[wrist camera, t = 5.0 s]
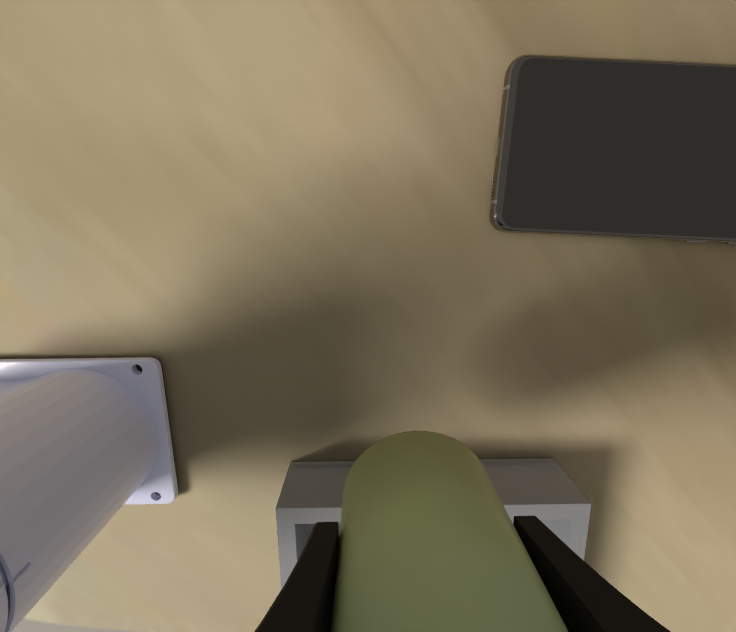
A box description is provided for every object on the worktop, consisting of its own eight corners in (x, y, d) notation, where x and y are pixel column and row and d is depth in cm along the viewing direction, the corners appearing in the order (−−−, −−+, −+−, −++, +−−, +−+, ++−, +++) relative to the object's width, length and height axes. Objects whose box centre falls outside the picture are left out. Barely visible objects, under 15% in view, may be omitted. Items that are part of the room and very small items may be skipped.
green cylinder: (346, 564, 13) (327, 903, 7) (338, 433, 12) (307, 675, 6) (488, 558, 14) (616, 891, 7) (492, 427, 12) (648, 661, 6)
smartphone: (510, 50, 16) (898, 69, 16) (502, 62, 17) (866, 79, 17) (490, 232, 17) (843, 249, 17) (483, 232, 18) (816, 248, 18)
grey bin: (301, 640, 23) (290, 712, 20) (290, 461, 20) (275, 508, 17) (534, 636, 23) (564, 707, 20) (553, 458, 20) (591, 503, 17)
